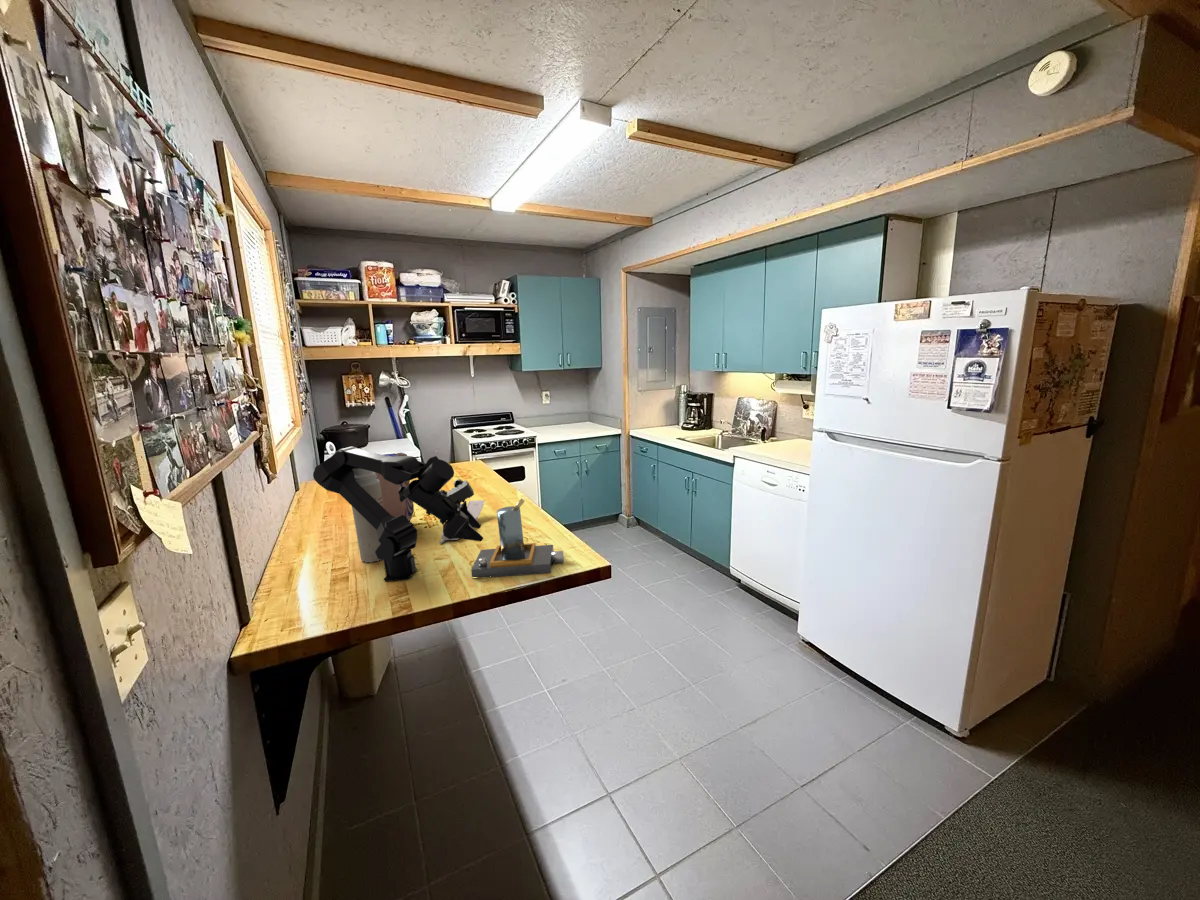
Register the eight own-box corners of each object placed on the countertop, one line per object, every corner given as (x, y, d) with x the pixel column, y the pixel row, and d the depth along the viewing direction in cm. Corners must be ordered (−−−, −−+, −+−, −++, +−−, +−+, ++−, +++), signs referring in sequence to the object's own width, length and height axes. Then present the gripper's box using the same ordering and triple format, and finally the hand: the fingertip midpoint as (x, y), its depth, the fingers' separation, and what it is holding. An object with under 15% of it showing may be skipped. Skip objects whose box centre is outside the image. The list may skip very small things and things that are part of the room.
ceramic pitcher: (346, 540, 152) (332, 464, 146) (392, 516, 171) (381, 449, 166) (392, 543, 146) (378, 465, 141) (434, 519, 166) (423, 449, 161)
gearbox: (472, 578, 120) (470, 564, 120) (482, 558, 132) (480, 544, 131) (562, 572, 121) (561, 557, 120) (564, 552, 133) (563, 538, 132)
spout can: (503, 563, 122) (496, 505, 119) (501, 554, 128) (494, 499, 125) (531, 557, 124) (526, 501, 121) (528, 549, 130) (522, 494, 127)
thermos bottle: (396, 551, 140) (382, 459, 135) (379, 563, 133) (363, 466, 127) (373, 550, 142) (358, 459, 137) (354, 562, 134) (338, 466, 129)
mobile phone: (485, 499, 166) (453, 526, 142) (488, 515, 167) (456, 544, 143) (469, 500, 167) (434, 526, 143) (472, 516, 168) (437, 545, 144)
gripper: (451, 483, 108) (505, 520, 114) (451, 465, 126) (497, 498, 131) (420, 521, 108) (475, 557, 113) (424, 497, 125) (471, 529, 131)
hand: (481, 533), depth 122 cm, fingers open, 9 cm apart
